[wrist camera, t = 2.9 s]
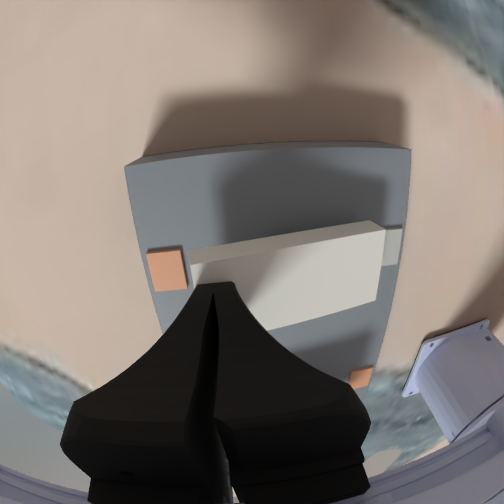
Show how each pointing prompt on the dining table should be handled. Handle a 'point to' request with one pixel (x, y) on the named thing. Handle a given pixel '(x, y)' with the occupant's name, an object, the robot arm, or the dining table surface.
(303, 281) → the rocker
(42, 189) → the dining table surface
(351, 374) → the switch base
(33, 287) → the dining table surface
